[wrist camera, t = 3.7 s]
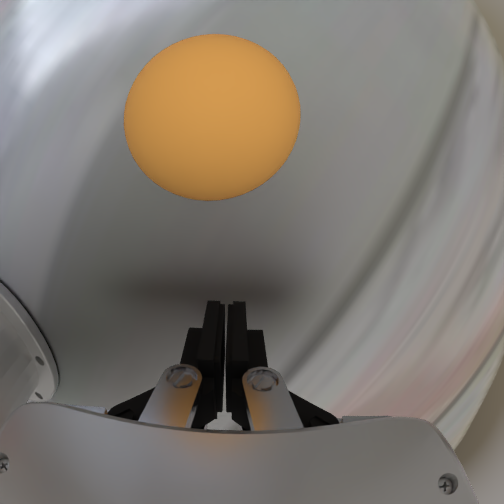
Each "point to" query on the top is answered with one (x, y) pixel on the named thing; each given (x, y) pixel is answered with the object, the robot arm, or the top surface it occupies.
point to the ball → (212, 117)
